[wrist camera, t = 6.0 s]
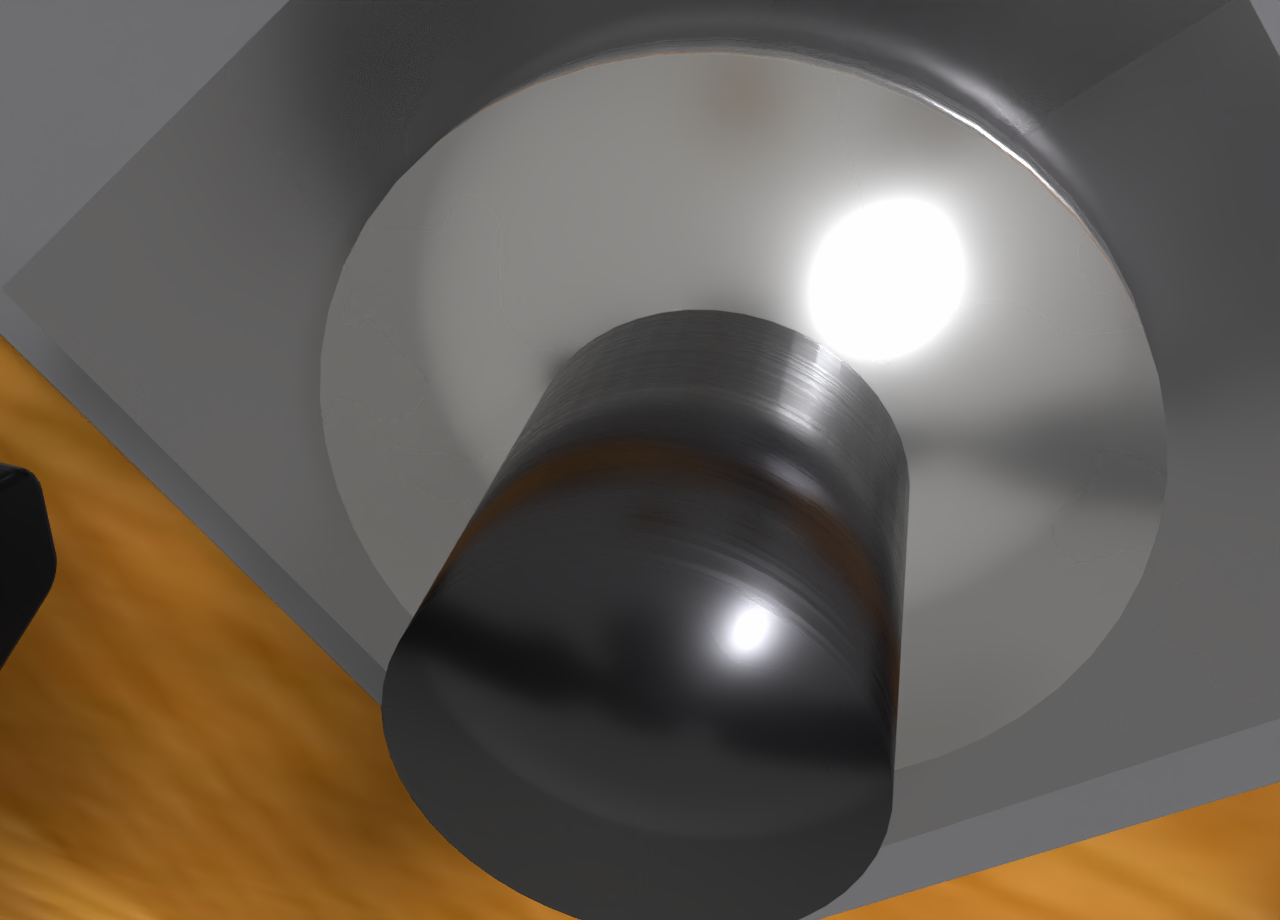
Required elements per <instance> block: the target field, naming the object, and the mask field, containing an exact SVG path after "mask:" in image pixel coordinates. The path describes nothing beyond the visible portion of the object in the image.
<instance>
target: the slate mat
mask: <svg viewBox="0 0 1280 920" xmlns="http://www.w3.org/2000/svg"><path fill="white" fill-rule="evenodd" d="M288 1H289V0H0V334H1V335H2V336H3V337H4V338H5V339H6V340H7V341H8V342H9V343H10V344H11V345H12V346H13V347H14V348H15V349H16V350H17V351H18V352H19V353H20V354H21V355H22V356H23V357H24V358H26V359H27V360H28V361H29V362H30V363H31V364H32V365H33V366H34V367H35V368H36V369H37V370H38V371H39V372H40V373H41V374H42V375H43V376H44V377H45V378H46V379H47V380H48V381H49V382H50V383H51V384H52V385H53V386H54V387H55V388H56V389H57V390H58V391H59V392H60V393H61V394H62V395H63V396H64V397H65V398H66V399H67V400H68V401H69V402H70V403H72V404H73V405H74V406H75V407H76V408H77V409H78V410H79V411H80V412H81V413H82V414H83V415H84V416H85V417H86V418H87V419H88V420H89V421H90V422H91V423H92V424H93V425H94V426H95V427H96V428H97V429H98V430H99V431H100V432H101V433H102V434H103V435H104V436H105V437H106V438H107V439H108V440H109V441H110V442H111V443H112V444H113V445H114V446H115V447H116V448H117V449H119V450H120V451H121V452H122V453H123V454H124V455H125V456H126V457H127V458H128V459H129V460H130V461H131V462H132V463H133V464H134V465H135V466H136V467H137V468H138V469H139V470H140V471H141V472H142V473H143V474H144V475H145V476H146V477H147V478H148V479H149V480H150V481H151V482H152V483H153V484H154V485H155V486H156V487H157V488H158V489H159V490H160V491H161V492H162V493H163V494H165V495H166V496H167V497H168V498H169V499H170V500H171V501H172V502H173V503H174V504H175V505H176V506H177V507H178V508H179V509H180V510H181V511H182V512H183V513H184V514H185V515H186V516H187V517H188V518H189V519H190V520H191V521H192V522H193V523H194V524H195V525H196V526H197V527H198V528H199V529H200V530H201V531H202V532H203V533H204V534H205V535H206V536H207V537H208V538H209V539H210V540H212V541H213V542H214V543H215V544H216V545H217V546H218V547H219V548H220V549H221V550H222V551H223V552H224V553H225V554H226V555H227V556H228V557H229V558H230V559H231V560H232V561H233V562H234V563H235V564H236V565H237V566H238V567H239V568H240V569H241V570H242V571H243V572H244V573H245V574H246V575H247V576H248V577H249V578H250V579H251V580H252V581H253V582H254V583H255V584H256V585H257V586H259V587H260V588H261V589H262V590H263V591H264V592H265V593H266V594H267V595H268V596H269V597H270V598H271V599H272V600H273V601H274V602H275V603H276V604H277V605H278V606H279V607H280V608H281V609H282V610H283V611H284V612H285V613H286V614H287V615H288V616H289V617H290V618H291V619H292V620H293V621H294V622H295V623H296V624H297V625H298V626H299V627H300V628H301V629H302V630H303V631H305V632H306V633H307V634H308V635H309V636H310V637H311V638H312V639H313V640H314V641H315V642H316V643H317V644H318V645H319V646H320V647H321V648H322V649H323V650H324V651H325V652H326V653H327V654H328V655H329V656H330V657H331V658H332V659H333V660H334V661H335V662H336V663H337V664H338V665H339V666H340V667H341V668H342V669H343V670H344V671H345V672H346V673H347V674H348V675H349V676H350V677H352V678H353V679H354V680H355V681H356V682H357V683H358V684H359V685H360V686H361V687H362V688H363V689H364V690H365V691H366V692H367V693H368V694H369V695H370V696H371V697H372V698H373V699H374V700H375V701H376V702H377V703H378V704H379V705H380V706H382V691H383V683H384V679H385V675H386V671H385V670H384V669H383V668H382V667H381V666H380V665H379V664H378V663H377V662H376V661H375V660H374V659H373V658H372V657H371V656H370V655H369V654H368V653H367V652H366V651H365V650H364V649H363V648H362V647H361V646H360V645H359V644H358V643H357V642H356V641H355V640H354V639H353V638H352V637H351V636H350V635H349V634H348V633H347V632H346V631H345V630H344V629H343V628H342V627H341V626H340V625H339V624H338V623H337V622H336V621H335V620H334V619H333V618H332V617H331V616H330V615H329V614H328V613H327V612H326V611H325V610H324V609H323V608H322V607H321V606H320V605H319V604H318V603H317V602H316V601H315V600H314V599H313V598H312V597H311V596H310V595H309V594H308V593H307V592H306V591H305V590H304V589H303V588H302V587H301V586H300V585H299V584H298V583H297V582H296V581H295V580H294V579H293V578H292V577H291V576H290V575H289V574H288V573H287V572H286V571H285V570H284V569H283V568H282V567H281V566H280V565H279V564H277V563H276V562H275V561H274V560H273V559H272V558H271V557H270V556H269V555H268V554H267V553H266V552H265V551H264V550H263V549H262V548H261V547H260V546H259V545H258V544H257V543H256V542H255V541H254V540H253V539H252V538H251V537H250V536H249V535H248V534H247V533H246V532H245V531H244V530H243V529H242V528H241V527H240V526H239V525H238V524H237V523H236V522H235V521H234V520H233V519H232V518H231V517H230V516H229V515H228V514H227V513H226V512H225V511H224V510H223V509H222V508H221V507H220V506H219V505H218V504H217V503H216V502H215V501H214V500H213V499H212V498H211V497H210V496H209V495H208V494H207V493H206V492H205V491H204V490H203V489H202V488H201V487H200V486H199V485H198V484H197V483H196V482H195V481H194V480H193V479H192V478H191V477H190V476H189V475H188V474H187V473H186V472H185V471H184V470H183V469H182V468H181V467H180V466H179V465H178V464H177V463H176V462H175V461H174V460H173V459H172V458H171V457H170V456H169V455H168V454H167V453H166V452H165V451H164V450H163V449H162V448H161V447H160V446H159V445H158V444H157V443H156V442H155V441H154V440H153V439H152V438H151V437H150V436H149V435H148V434H147V433H146V432H145V431H144V430H143V429H142V428H141V427H140V426H139V425H138V424H137V423H136V422H135V421H134V420H133V419H132V418H131V417H130V416H129V415H128V414H127V413H126V412H125V411H124V410H123V409H122V408H121V407H120V406H119V405H118V404H117V403H115V402H114V401H113V400H112V399H111V398H110V397H109V396H108V395H107V394H106V393H105V392H104V391H103V390H102V389H101V388H100V387H99V386H98V385H97V384H96V383H95V382H94V381H93V380H92V379H91V378H90V377H89V376H88V375H87V374H86V373H85V372H84V371H83V370H82V369H81V368H80V367H79V366H78V365H77V364H76V363H75V362H74V361H73V360H72V359H71V358H70V357H69V356H68V355H67V354H66V353H65V352H64V351H63V350H62V349H61V348H60V347H59V346H58V345H57V344H56V343H55V342H54V341H53V340H52V339H51V338H50V337H49V336H48V335H47V334H46V333H45V332H44V331H43V330H42V329H41V328H40V327H39V326H38V325H37V324H36V323H35V322H34V321H33V320H32V319H31V318H30V317H29V316H28V315H27V314H26V313H25V312H24V311H23V310H22V309H21V308H20V307H19V306H18V305H17V304H16V303H15V302H14V301H13V300H12V299H11V298H10V297H9V296H8V295H7V294H6V293H5V292H4V291H3V290H2V289H1V288H2V287H3V286H4V285H5V284H6V283H7V282H8V281H9V280H10V279H11V278H12V277H13V276H14V275H15V274H16V273H17V272H18V271H19V270H20V269H21V268H22V267H23V266H24V265H25V264H26V263H27V262H28V261H29V260H30V259H31V258H32V257H33V256H34V255H35V254H36V253H37V252H38V251H39V250H40V249H41V248H42V247H43V246H44V245H45V244H46V243H47V242H48V241H49V240H50V239H51V238H52V237H53V236H54V235H55V234H56V233H57V232H58V231H59V230H60V229H61V228H62V227H63V226H64V225H65V224H66V223H67V222H68V221H69V220H70V219H71V218H72V217H73V216H74V215H75V214H76V213H77V212H78V211H79V210H80V209H81V208H82V207H83V206H84V205H85V204H86V203H87V202H88V201H89V200H90V199H91V198H92V197H93V196H94V195H95V194H96V193H97V192H98V191H99V190H100V189H101V188H102V187H103V186H104V185H105V184H106V183H107V182H108V181H109V180H110V179H111V178H112V177H113V176H114V175H115V174H116V173H117V172H118V171H119V170H120V169H121V168H122V167H123V166H124V165H125V164H126V163H127V162H128V161H129V160H130V159H131V158H132V157H133V156H134V155H135V154H136V153H137V152H138V151H139V150H140V149H141V148H142V147H143V146H144V145H145V144H146V143H147V142H148V141H149V140H150V139H151V138H152V137H153V136H154V135H155V134H156V133H157V132H158V131H159V130H160V129H161V128H162V127H163V126H164V125H165V124H166V123H167V122H168V121H169V120H170V119H171V118H172V117H173V116H174V115H175V114H176V113H177V112H178V111H179V110H180V109H181V108H182V107H183V106H184V105H185V104H186V103H187V102H188V101H189V100H190V99H191V98H192V97H193V96H194V95H195V94H196V93H197V92H198V91H199V90H200V89H201V88H202V87H203V86H204V85H205V84H206V83H207V82H208V81H209V80H210V79H211V78H212V77H213V76H214V75H215V74H216V73H217V72H218V71H219V70H220V69H221V68H222V67H223V66H224V65H225V64H226V63H227V62H228V61H229V60H230V59H231V58H232V57H233V56H234V55H235V54H236V53H237V52H238V51H239V50H240V49H241V48H242V47H243V46H244V45H245V44H246V43H247V42H248V41H249V40H250V39H251V38H252V37H253V36H254V35H255V34H256V33H257V32H258V31H259V30H260V29H261V28H262V27H263V26H264V25H265V24H266V23H267V22H268V21H269V20H270V19H271V18H272V17H273V16H274V15H275V14H276V13H277V12H278V11H279V10H280V9H281V8H282V7H283V6H284V5H285V4H286V3H287V2H288ZM1250 2H1251V4H1252V6H1253V8H1254V9H1255V11H1256V13H1257V15H1258V17H1259V19H1260V21H1261V23H1262V24H1263V26H1264V28H1265V30H1266V32H1267V34H1268V36H1269V38H1270V39H1271V41H1272V43H1273V45H1274V47H1275V49H1276V51H1277V53H1278V54H1279V56H1280V0H1250ZM1277 782H1280V718H1279V719H1276V720H1273V721H1270V722H1267V723H1264V724H1261V725H1258V726H1255V727H1252V728H1248V729H1245V730H1242V731H1239V732H1236V733H1233V734H1230V735H1227V736H1224V737H1221V738H1218V739H1214V740H1211V741H1208V742H1205V743H1202V744H1199V745H1196V746H1193V747H1190V748H1187V749H1184V750H1180V751H1177V752H1174V753H1171V754H1168V755H1165V756H1162V757H1159V758H1156V759H1153V760H1150V761H1146V762H1143V763H1140V764H1137V765H1134V766H1131V767H1128V768H1125V769H1122V770H1119V771H1116V772H1112V773H1109V774H1106V775H1103V776H1100V777H1097V778H1094V779H1091V780H1088V781H1085V782H1082V783H1078V784H1075V785H1072V786H1069V787H1066V788H1063V789H1060V790H1057V791H1054V792H1051V793H1048V794H1044V795H1041V796H1038V797H1035V798H1032V799H1029V800H1026V801H1023V802H1020V803H1017V804H1014V805H1010V806H1007V807H1004V808H1001V809H998V810H995V811H992V812H989V813H986V814H983V815H980V816H976V817H973V818H970V819H967V820H964V821H961V822H958V823H955V824H952V825H949V826H946V827H942V828H939V829H936V830H933V831H930V832H927V833H924V834H921V835H918V836H915V837H912V838H909V839H905V840H902V841H899V842H896V843H893V844H890V845H887V846H884V847H881V848H880V849H879V851H878V854H877V856H876V857H875V858H874V860H873V861H872V863H871V864H870V866H869V867H868V868H867V870H866V871H865V873H864V874H863V875H862V876H861V877H860V878H859V879H858V880H857V881H856V882H855V883H854V884H853V885H852V886H851V887H850V888H849V889H848V890H847V891H846V892H845V893H843V894H842V895H841V896H839V897H838V898H836V899H835V900H834V901H832V902H831V903H829V904H828V905H827V906H825V907H823V908H821V909H819V910H817V911H816V912H814V913H812V914H810V915H808V916H806V917H804V918H802V919H799V920H818V919H821V918H825V917H828V916H831V915H835V914H838V913H841V912H845V911H848V910H851V909H855V908H858V907H861V906H865V905H868V904H871V903H875V902H878V901H881V900H885V899H888V898H892V897H895V896H898V895H902V894H905V893H908V892H912V891H915V890H918V889H922V888H925V887H928V886H932V885H935V884H938V883H942V882H945V881H948V880H952V879H955V878H958V877H962V876H965V875H969V874H972V873H975V872H979V871H982V870H985V869H989V868H992V867H995V866H999V865H1002V864H1005V863H1009V862H1012V861H1015V860H1019V859H1022V858H1025V857H1029V856H1032V855H1036V854H1039V853H1042V852H1046V851H1049V850H1052V849H1056V848H1059V847H1062V846H1066V845H1069V844H1072V843H1076V842H1079V841H1082V840H1086V839H1089V838H1092V837H1096V836H1099V835H1103V834H1106V833H1109V832H1113V831H1116V830H1119V829H1123V828H1126V827H1129V826H1133V825H1136V824H1139V823H1143V822H1146V821H1149V820H1153V819H1156V818H1159V817H1163V816H1166V815H1169V814H1173V813H1176V812H1180V811H1183V810H1186V809H1190V808H1193V807H1196V806H1200V805H1203V804H1206V803H1210V802H1213V801H1216V800H1220V799H1223V798H1226V797H1230V796H1233V795H1236V794H1240V793H1243V792H1247V791H1250V790H1253V789H1257V788H1260V787H1263V786H1267V785H1270V784H1273V783H1277Z"/></svg>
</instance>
